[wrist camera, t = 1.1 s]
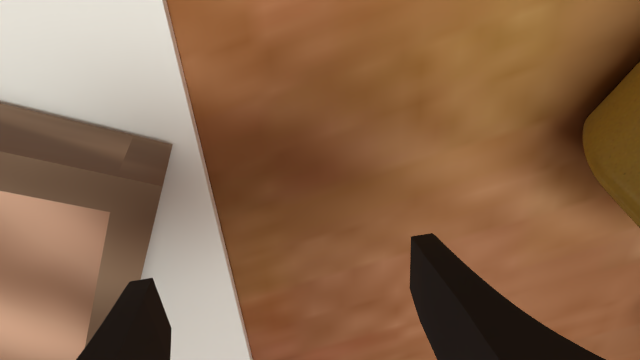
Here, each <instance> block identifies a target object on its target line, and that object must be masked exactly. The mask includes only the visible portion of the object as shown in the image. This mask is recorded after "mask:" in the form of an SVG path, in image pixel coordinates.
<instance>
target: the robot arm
mask: <svg viewBox="0 0 640 360" xmlns="http://www.w3.org/2000/svg"><path fill="white" fill-rule="evenodd" d="M410 290H411V294H412V297H413V300H414V304H415V307H416V310H417V313H418V316H419V319H420V322H421V324H422V326H423V329H424V331H425V333H426V335H427V338H428V340H429V342H430V344H431V347H432V349H433V351H434V353H435V355H436V357H437V360H605V359H603V358H601V357H599V356H597V355H595V354H594V353H592V352H590V351H588V350H586V349H584V348H582V347H580V346H579V345H577V344H575V343H573V342H572V341H570V340H568V339H566V338H564V337H563V336H561V335H559V334H557V333H556V332H554V331H552V330H551V329H549V328H548V327H546V326H544V325H543V324H541V323H540V322H538V321H537V320H535V319H534V318H532V317H531V316H529V315H528V314H526V313H525V312H524V311H522V310H521V309H519V308H518V307H517V306H515V305H514V304H513V303H511V302H510V301H509V300H507V299H506V298H505V297H504V296H502V295H501V294H500V293H498V292H497V291H496V290H495V289H493V288H492V287H491V286H490V285H489V284H487V283H486V282H485V281H484V280H483V279H482V278H480V277H479V276H478V275H477V274H476V273H475V272H473V271H472V270H471V269H470V268H469V267H468V266H467V265H466V264H464V263H463V262H462V261H461V260H460V259H459V258H458V257H457V256H456V255H455V254H454V253H453V252H452V251H451V250H450V249H449V248H447V247H446V246H445V245H444V244H443V243H442V242H441V241H440V240H439V239H438V238H437V237H436V236H435V235H434V234H432V233H431V234H425V235H419V236H412V237H411V264H410ZM171 329H172V328H171V326H170V323H169V320H168V318H167V315H166V312H165V309H164V307H163V304H162V301H161V299H160V296H159V293H158V291H157V288H156V285H155V283H154V280H153V278H148V279H142V280H135V281H130V282H129V283H128V284H127V286H126V287H125V289H124V290H123V292H122V293H121V295H120V296H119V298H118V300H117V301H116V303H115V304H114V306H113V307H112V309H111V310H110V312H109V313H108V315H107V316H106V318H105V319H104V321H103V322H102V324H101V325H100V327H99V328H98V330H97V331H96V333H95V334H94V335H93V337H92V338H91V340H90V341H89V343H88V344H87V345H86V347H85V348H84V350H83V351H82V352H81V354H80V355H79V356H78V358H77V359H76V360H170V354H171Z"/></svg>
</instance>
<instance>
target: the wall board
mask: <svg viewBox="0 0 640 360" xmlns="http://www.w3.org/2000/svg"><path fill="white" fill-rule="evenodd" d="M0 103H2V104H7V105H11V106H15V107H19V108H23V109H27V110H32V111H36V112H40V113H44V114H48V115H52V116H56V117H61V118H65V119H69V120H73V121H77V122H81V123H86V124H90V125H94V126H98V127H102V128H106V129H110V130H115V131H119V132H123V133H127V134H131V135H135V136H140V137H144V138H148V139H152V140H156V141H160V142H164V143H169V144H173V146H172V150H171V154H170V158H169V162H168V167H167V171H166V175H165V179H164V183H163V188H162V192H161V196H160V200H159V204H158V209H157V213H156V217H155V221H154V225H153V229H152V234H151V238H150V242H149V246H148V250H147V255H146V259H145V263H144V267H143V271H142V275H141V280H142V279H148V278H153V280H154V283H155V285H156V288H157V291H158V293H159V296H160V299H161V301H162V304H163V307H164V309H165V312H166V315H167V318H168V320H169V323H170V326H171V328H172V329H171V354H170V360H253V359H252V354H251V350H250V346H249V342H248V338H247V334H246V330H245V325H244V321H243V317H242V313H241V309H240V305H239V300H238V296H237V292H236V288H235V284H234V280H233V276H232V271H231V267H230V263H229V259H228V255H227V251H226V247H225V242H224V238H223V234H222V230H221V226H220V222H219V218H218V213H217V209H216V205H215V201H214V197H213V193H212V189H211V184H210V180H209V176H208V172H207V168H206V164H205V159H204V155H203V151H202V147H201V143H200V139H199V135H198V130H197V126H196V122H195V118H194V114H193V110H192V106H191V101H190V97H189V93H188V89H187V85H186V81H185V77H184V72H183V68H182V64H181V60H180V56H179V52H178V48H177V43H176V39H175V35H174V31H173V27H172V23H171V18H170V14H169V10H168V6H167V2H166V0H0Z"/></svg>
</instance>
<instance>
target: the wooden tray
mask: <svg viewBox="0 0 640 360" xmlns="http://www.w3.org/2000/svg"><path fill="white" fill-rule="evenodd" d="M172 146H173V144H169V143H164V142H160V141H156V140H152V139H148V138H144V137H140V136H135V135H131V134H127V133H123V132H119V131H115V130H110V129H106V128H102V127H98V126H94V125H90V124H86V123H81V122H77V121H73V120H69V119H65V118H61V117H56V116H52V115H48V114H44V113H40V112H36V111H32V110H27V109H23V108H19V107H15V106H11V105H7V104H2V103H0V360H76V359H77V358H78V356H79V355H80V354H81V352H82V351H83V350H84V348H85V347H86V345H87V344H88V343H89V341H90V340H91V338H92V337H93V335H94V334H95V333H96V331H97V330H98V328H99V327H100V325H101V324H102V322H103V321H104V319H105V318H106V316H107V315H108V313H109V312H110V310H111V309H112V307H113V306H114V304H115V303H116V301H117V300H118V298H119V296H120V295H121V293H122V292H123V290H124V289H125V287H126V286H127V284H128V283H129V282H130V281H135V280H141V275H142V271H143V267H144V263H145V259H146V255H147V250H148V246H149V242H150V238H151V234H152V229H153V225H154V221H155V217H156V213H157V209H158V204H159V200H160V196H161V192H162V188H163V183H164V179H165V175H166V171H167V167H168V162H169V158H170V154H171V150H172Z"/></svg>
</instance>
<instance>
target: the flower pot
mask: <svg viewBox="0 0 640 360" xmlns="http://www.w3.org/2000/svg"><path fill="white" fill-rule="evenodd" d="M583 147H584V152H585V157H586V159H587V162H588V164H589V167H590V169H591V171H592V172H593V174H594V176H595V177H596V179H597V180H598V182H599V183H600V184H601V186H602V187H603V188H604V189H605V190H606V191H607V193H608V194H609V195H610V196H611V197H612V198H613V199H614V200H615V201H616V203H617V204H618V205H619V206H620V207H621V208H622V209H623V210H624V211H625V212H626V213H627V215H628V216H629V217H630V218H631V219H632V220H633V221H634V222H635V223H636V224H637V225H638V226H639V228H640V62H639V63H638V64H637V65H636V66H635V67H634V68H633V69H632V70H631V71H630V72H629V74H628V75H627V76H626V77H625V78H624V79H623V80H622V81H621V82H620V83H619V84H618V86H617V87H616V88H615V89H614V90H613V91H612V92H611V93H610V94H609V95H608V96H607V97H606V98H605V99H604V100H603V101H602V103H601V104H600V105H599V106H598V107H597V108H596V109H595V110H594V111H593V112H592V113H591V114H590V115H589V116H588V118H587V119H586V121H585V123H584V126H583Z"/></svg>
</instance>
